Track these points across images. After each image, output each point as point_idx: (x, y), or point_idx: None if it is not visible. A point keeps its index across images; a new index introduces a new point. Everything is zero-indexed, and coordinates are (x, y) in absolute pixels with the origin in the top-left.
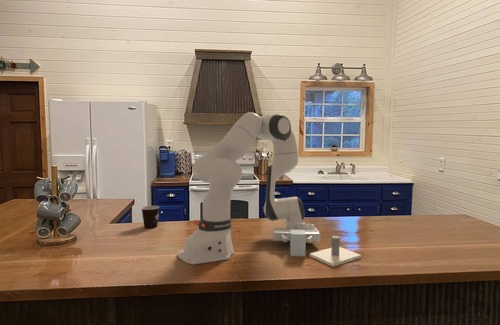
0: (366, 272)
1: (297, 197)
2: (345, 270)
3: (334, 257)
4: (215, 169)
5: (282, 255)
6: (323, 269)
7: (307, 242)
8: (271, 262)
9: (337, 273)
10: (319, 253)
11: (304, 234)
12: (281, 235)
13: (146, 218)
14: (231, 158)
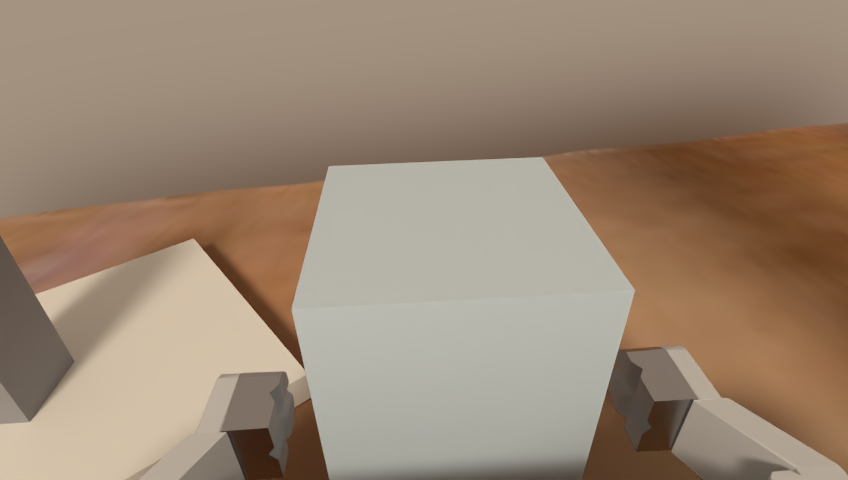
0: (29, 229)
1: None
2: (143, 233)
3: (94, 321)
4: None
5: None
6: (278, 229)
7: (288, 404)
8: (633, 263)
9: (217, 207)
10: (191, 389)
11: (349, 166)
12: (818, 453)
13: None
14: None
